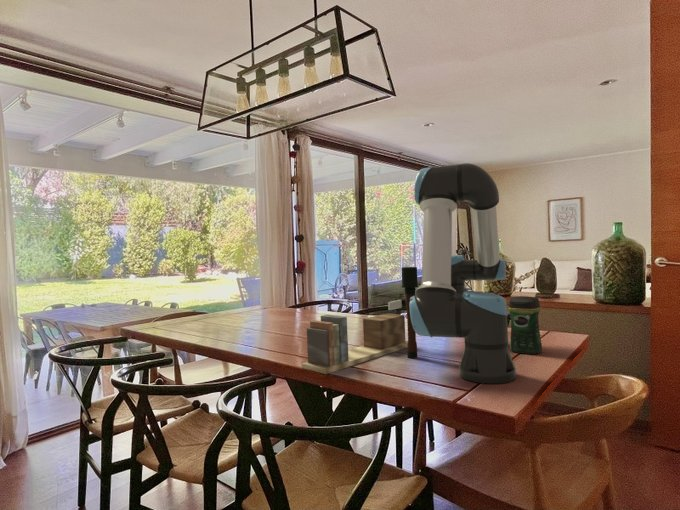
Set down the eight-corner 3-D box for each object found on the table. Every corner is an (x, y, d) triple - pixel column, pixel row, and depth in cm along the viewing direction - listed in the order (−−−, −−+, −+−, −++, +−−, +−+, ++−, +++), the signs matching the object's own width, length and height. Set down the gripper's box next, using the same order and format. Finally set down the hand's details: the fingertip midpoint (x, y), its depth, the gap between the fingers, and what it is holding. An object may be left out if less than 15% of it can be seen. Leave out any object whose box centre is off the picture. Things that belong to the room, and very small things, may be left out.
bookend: (388, 339, 169) (387, 313, 169) (405, 342, 163) (404, 315, 163) (364, 346, 159) (362, 318, 159) (381, 349, 153) (380, 321, 153)
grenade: (423, 355, 149) (419, 266, 148) (418, 360, 144) (414, 267, 143) (407, 354, 151) (403, 266, 150) (401, 358, 146) (398, 267, 145)
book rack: (388, 341, 171) (387, 302, 171) (412, 345, 164) (410, 303, 163) (301, 368, 140) (299, 319, 140) (325, 374, 132) (323, 322, 132)
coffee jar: (544, 350, 149) (542, 295, 148) (537, 356, 142) (535, 298, 142) (515, 347, 155) (513, 294, 154) (507, 352, 149) (505, 297, 148)
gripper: (472, 313, 151) (438, 322, 136) (412, 307, 169) (376, 315, 154) (472, 291, 151) (438, 298, 136) (411, 288, 169) (375, 294, 154)
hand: (405, 307), depth 145 cm, fingers open, 13 cm apart
